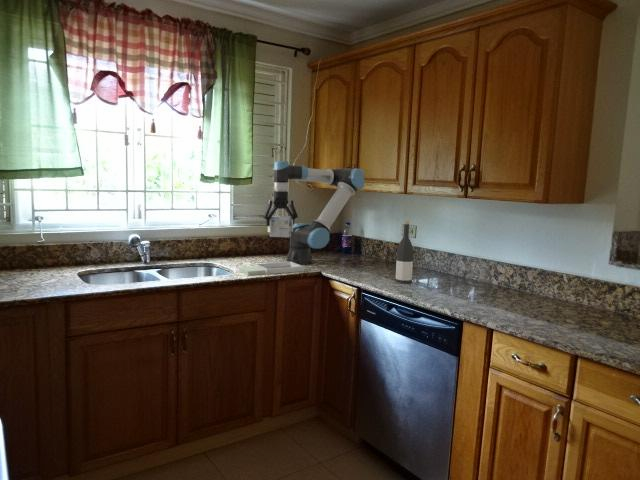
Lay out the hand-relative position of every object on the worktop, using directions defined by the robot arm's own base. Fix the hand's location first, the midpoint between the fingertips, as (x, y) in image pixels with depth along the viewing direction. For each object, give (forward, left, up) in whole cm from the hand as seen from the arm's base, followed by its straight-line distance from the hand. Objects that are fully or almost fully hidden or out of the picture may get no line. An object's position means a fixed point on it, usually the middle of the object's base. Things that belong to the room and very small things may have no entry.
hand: (280, 231), depth 260 cm
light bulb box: (0, 0, -3) cm, 3 cm away
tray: (0, 0, -20) cm, 20 cm away
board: (+17, +2, -20) cm, 26 cm away
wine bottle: (-43, +51, -21) cm, 69 cm away
